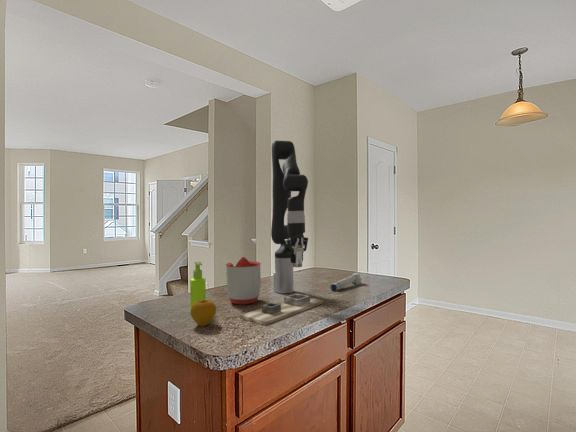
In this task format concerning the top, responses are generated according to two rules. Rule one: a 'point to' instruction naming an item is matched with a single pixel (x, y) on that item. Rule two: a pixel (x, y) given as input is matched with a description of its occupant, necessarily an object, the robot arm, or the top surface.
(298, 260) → the pipe fitting
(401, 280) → the top surface
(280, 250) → the robot arm
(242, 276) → the citrus juicer
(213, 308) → the apple
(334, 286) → the grey piece
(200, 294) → the soap dispenser
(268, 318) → the socket board
